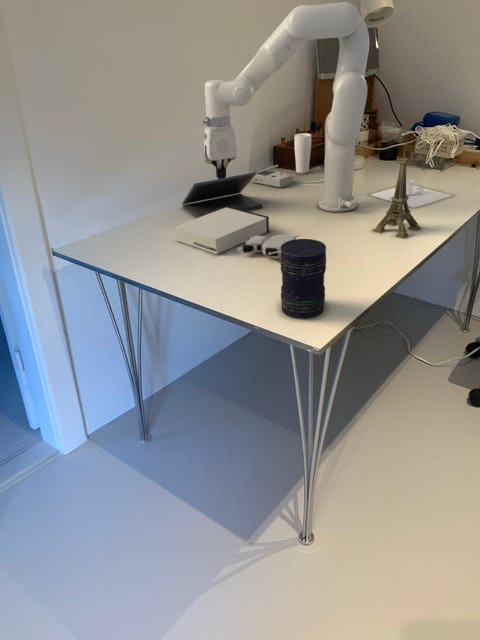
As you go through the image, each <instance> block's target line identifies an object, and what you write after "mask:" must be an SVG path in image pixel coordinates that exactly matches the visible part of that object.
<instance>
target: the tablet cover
mask: <svg viewBox="0 0 480 640" xmlns="http://www.w3.org/2000/svg"><path fill="white" fill-rule="evenodd" d="M256 172H257V171H255V172H249V173H244V174H237V175H234V176H233V175H232V176H226V178H222V179H218V178H216V179H211V180H206V181H201V182H196V183H195V182H194V183H193V184H192V186H191V187H190V189H189V191H188V193H187V194H186V196H185V197H184V199H183V201H182V202H181V205H182V206H183V205H186V204H190V203H195V202H200V201H205V200H210V199H215V198H220V197H225V196H230V195H235V194H240V193H241V194H242V192H243V191H244V190H245V188H246V187H247V186H248V185H249V183H250V182H252V179H253V177H254V176H255V175H256Z"/></svg>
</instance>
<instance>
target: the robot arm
mask: <svg viewBox="0 0 480 640" xmlns="http://www.w3.org/2000/svg"><path fill="white" fill-rule="evenodd" d="M335 38H338V43H339V52H338V57H337V58H338V59H337V66H336V70H335V75H334V79H333V84H332V93H333V99H332V106H331V110H330V112H329V113H328V114H327V117H326V119H325V123H324V175H323V199H321V200H320V201H318V207H319V209H321V210H323V211H326V212H333V213H341V212H342V213H343V212H349V211H352V210H355V209H356V208H357V205H358V201H357V200H355V195H354V194H353V191H354V175H355V174H354V172H355V156H356V139H357V138H358V136H359V135H360V131H361V127H362V123H363V118H364V113H365V108H366V103H367V98H368V83H367V80H366V79H365V76H366V69H367V63H368V57H369V49H370V34H369V31H368V26H367V24H366V22H365V20H364V18H363V17H362V15H361V14H360V12H359V9H358V8H357V7H356V6H355V4H353V3H352V2H349V1H339V2H333V3H332V2H331V3H323V4H322V3H321V4H302V5H301V4H300V5H298V6H296V7H294V8H293V9H292V10H290V12H289V13H288V15H286V17H284V19H283V20H282V21H281V23H279V24H278V26H277V27H276V29H274V31H273V32H272V33H271V35H269V36H268V38H267V39H265V41H264V42H263V44H262V45H261V46H260V47H259V49H258V51H256V54H255V55H254V57H253V58H252V59H251V60H250V61H249V62H248V64H247V65H246V66H244V69H242V70H241V72H240V73H239V74H238V76H236V78H235V79H234V80H231V81H228V80H225V79H210V80H207V81H206V82H205V83H204V96H205V97H204V98H205V99H204V100H205V114H206V116H205V119H203V120H202V124H203V125H206V126H205V127H204V135H203V155H204V157H205V160H204V163H205V164H207V165H212V166H214V168H215V176H216V179H222V178H227V168H228V165H229V163H230V162H232V161H235V160H236V159H237V158H236V157H237V155H238V151H237V150H238V148H237V139H236V134H235V129H234V126H233V125H232V124H231V109H230V108H231V106H236V107H244V106H246V105H248V104H250V102H251V101H252V99H253V97H254V95H255V94H256V93H257V91H258V90H260V88H261V87H262V86H263V85H264V84H265V82H266V81H267V80H269V78H270V77H272V75H273V74H274V73H276V72H278V71H279V70H280V69H281V68H283V66H284V65H286V63H287V62H288V61H289V60H290V59H291V57H292V56H293V55H294V54H295V53H296V52H297V51H298V49H300V48H301V46H302V45H303V44H304V43H305V42H306V41H307V40H321V39H322V40H324V39H335Z"/></svg>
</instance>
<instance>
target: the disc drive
mask: <svg viewBox="0 0 480 640" xmlns="http://www.w3.org/2000/svg"><path fill="white" fill-rule="evenodd" d="M269 220H270V219H269V216H268V215H263V214H259V213H256V212H252V211H244V210H240V209H237V208H233V207H229V206H226V208H223V209H220V210H218V211H215V212H212V213H210V214H207V215H204V216H202V217H199V218H197V217H195V218H194V219H191V220H189V221H186V222H183V223H181V224H178V225H175V226H174V230H175V231H174V232H175V240H176V242H180V243H183V244H186V245H189V246H191V247H194V248H197V249H200V250H203V251H206V252H209V253H211V254H215V255H218V254H220V253H223V252H225V251H227V250H230V249H232V248H234V247H236V246H238V245H240V244H243V243H245V241H246V240H248V238H252V237H253V236H257V235H263V234H265V233H267V234H268V233H269V232H270V228H269V227H270V224H269V223H270V221H269Z"/></svg>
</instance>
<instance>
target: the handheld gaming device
mask: <svg viewBox="0 0 480 640" xmlns="http://www.w3.org/2000/svg"><path fill="white" fill-rule="evenodd" d="M255 172H256V175H255V176H254V177H253V179H252V180H251V182H252V183H257V184H261V185H266V186H271V187H276V188H285V187H286V186H290V185H292V184H293V175H292V174H290V173H287V172H283V171H279V170H273V169H267V168H265V169H261V170H259V171H255Z"/></svg>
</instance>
